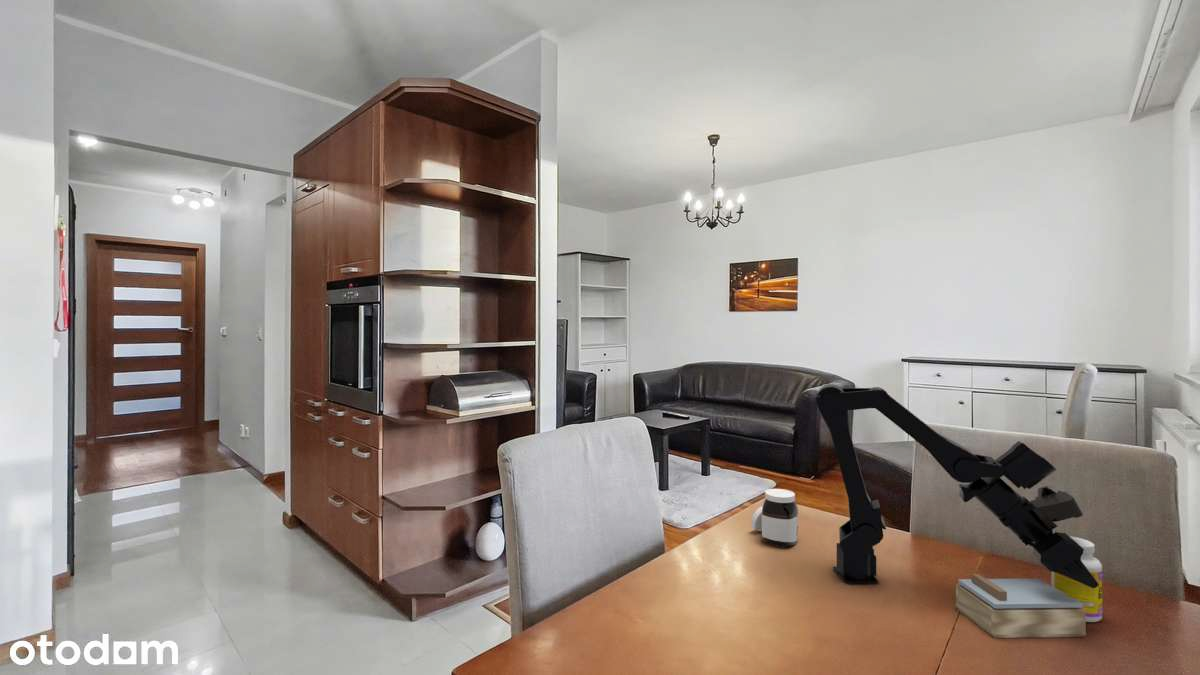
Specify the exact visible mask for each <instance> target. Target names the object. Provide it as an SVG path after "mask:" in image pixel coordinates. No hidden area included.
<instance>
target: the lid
mask: <svg viewBox="0 0 1200 675" xmlns="http://www.w3.org/2000/svg"><path fill="white" fill-rule="evenodd" d="M957 582H958V583H957V584H960V585H962V586H963V587H965V588H966V589H967V590H969V591H970V592H972V593H973V594H975V595H976V596H978V597H979V598H980V599H982V600H983V601H985V602H986V603H988V604H989V605H991V606H992V607H993V608H995V609H1005V608H1083V603H1081V602H1079V601H1077V600H1076V599H1074V598H1072V597H1070V596H1068V595H1067V594H1065V593H1063V592H1061V591H1060V590H1058V589H1056V588H1054V587H1052V584H1051V585H1050V584H1048V583H1046V582H1045V581H1043V580H1042V579H1039V578H986V577H984V576H983V575H982V574H980V573H971V578H963V579H962V578H961V579H960V578H958V580H957Z"/></svg>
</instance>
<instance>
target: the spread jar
mask: <svg viewBox="0 0 1200 675" xmlns="http://www.w3.org/2000/svg"><path fill="white" fill-rule="evenodd" d="M764 498H765V499H764V501H763V503H762V505H761V506H760V507H759V508H757V509H756V510H755V512H754V513H753V515H752V516H751V519H750V527H751V528H752V529H754V531H755V532H758V530H761V529H762V531H761V537H762V539H763V541H765V542H768V543H767V544H769V543H771V544H773V545H772V546H775V545H778V546H777V547H780V546H790V547H792V546H796V544H797V541H798V537H799V509H798V505H797V503H796V493H795V492H793V491H792V490H789V489H784V488H783V489H782V488H769V489H766V490H765V491H764ZM771 544H770V545H771Z"/></svg>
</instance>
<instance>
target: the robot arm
mask: <svg viewBox="0 0 1200 675" xmlns="http://www.w3.org/2000/svg"><path fill="white" fill-rule="evenodd" d="M815 404H816V408H818V411H819V413H820V415H821V417H822V419H823V422H824V424H825V425H826V426H827V429H828V431H829V432H830V435H831V440H832V443H833V447H834V450H835V455H836V459H837V462H838V465H839V469H840V472H841V476H842V480H843V484H844V488H845V491H846V494H847V499H848V501H847V502H848V513H849V520H847V521H846V522H845V523H843V524H842V525H841V526H839V527H838V528H839V529H838V530H839V531H838V532H839V533H838V534H839V542H837V543H836V566H832V570H833V572H835V573H836V574H837V575H838V577H840V578H841V579H842V581H844V582H845V584H848V585H849V584H851V585H852V584H853V585H854V584H879V581H880V580H879V579H878V578H877V556H876V555H875V548H874V547H875V546H877V545H878V544H880V543H881V541H882V540H883V539H884V531H883V530H885V531H886V530H887V527H886V523H885V519H884V516H882V511H881V506H880V503H879V499H874V500H871V498H870V495H869V494H868V492H867V489H866V486H865V482H864V479H863V475H862V471H861V467H860V465H859V464H860V463H859V461H858V457H857V452H856V450H855V447H854V446H855V445H854V441H853V439H852V434H851V432H850V427H849V426H850V425H849V412H848V411H857V410H867V409H875V410H877V411H878V412H880V414H882V415H883V416H884V417H886V418H887V419H889V420H890V421H891V422H892V423H893V424H894V425H896V426H897V427H898V428H900V429H901V431H903V432H905V434H907V435H908V436H909V437H911V438H912V439H914V440H915V441H916V442H917V443H918V444H919V445H921V447H923V448H924V449H926V451H927V452H928V453H929V454H930V455H931V456H932V457H933V458H934V460H936V462H937V463H938V464H939V465H940V466H941V467H942V469H944V471H945V472H946V473H947V474H948V475H949V476H950V477H951V478H952V479H953V480H955V481H956V482H959V484H958V488H959V494H958V495H959V498H960V499H961V500H962V501H963V502H964V503H968V502H970V501H972V499H973V498H974V499H976V500H977V501H978V502H979V503H980V504H981V505H982V506H983V507H984V508H986V510H988V511H989V512H990V513H991V514H992V515H993V516H994V517H996V518H997V519H998V521H1000V523H1001V524H1002V525H1003V526H1004V527H1005V528H1007V529H1009V530H1010V531H1011V532H1012V533H1013V534H1014V535H1015V536H1016V537H1017V538H1018V539H1019V540H1020V541H1021V542H1022V543H1023V545H1025V546H1030V547H1032V548H1033V549H1032V550H1033V556H1034V557H1035V558H1036V559H1037V560H1038V561H1039V563H1040V564H1042V565H1043V566H1044V567H1045V568H1046V569H1047V570H1048V571H1049V572H1051V573H1052V572H1056V573H1059V574H1061V575H1064V576H1066V577H1069V578H1071V579H1073V580H1076V581H1078V582H1080V583H1082V584H1085V585H1087V586H1089V587H1091V588H1096V587H1097V586H1099V584H1098V582H1097V581H1096V580H1095V578H1094V577H1093V576H1092V574H1091V573H1090V572H1089V571H1088V569H1087V568H1086V567H1085V565H1084V564H1083V562H1082V561H1081V556H1082V555H1083V551H1084V549H1083V548H1082V547H1081V546H1080V545H1079V544H1077V543H1076V542H1075V541H1074V540H1073V539H1072V538H1070V537H1071V536H1070V537H1069V535H1068V534H1067V533H1065V532H1058V531H1055V532H1053V530H1054V529H1056V528H1057V527H1058V525H1057V524H1056V523H1057V522H1061V521H1064V520H1069V519H1072V518H1075V519H1077V518H1081V517H1082V516H1083V515H1084V513H1083V511H1082V509H1081V508H1080V506H1079V504H1078V502H1077V501H1076V499H1075V497H1074V496H1073V495H1071V494H1069V493H1068V492H1066V491H1061V490H1057V492H1056V491H1055V490H1053V489H1052V488H1050V487H1049V486H1042V487H1038V488H1037V490H1038V491H1037V496H1036V497H1035V499H1033V500H1029V499H1027V498H1026V496H1021V495H1020V493H1018V492H1017V491H1016V490H1015V489H1014V488H1013V487H1012V486H1010V485H1009V484H1008V483H1007V482H1006V481H1005V480H1003V479H1002V477H1005V478H1006V479H1007V480H1008V481H1009V482H1010V483H1011V484H1012V485H1014V486H1015V487H1016V488H1017V489H1020V488H1021V487H1022V488H1023V490H1026V489H1028V490H1030V489H1032V488H1034V487H1035V486H1036V485H1038V484H1039V483H1041V482H1042V481H1043V480H1045V479H1046V478H1048V477H1049V476H1050V475H1052V474H1053V473H1055V472H1056V471H1057V468H1056V467H1055V466H1053V464H1051V463H1050V462H1049V460H1047V459H1046V458H1045V457H1043V456H1041V455H1040V454H1038V453H1037V452H1035V451H1034V450H1033V449H1031V448H1030V447H1029V446H1028V445H1026V444H1025V443H1024V442H1022V441H1019V440H1018V441H1017V442H1016V443H1014V444H1013V445H1012V446H1011V447H1010V448H1009V449H1008V450H1007V451H1006V452H1004V453H1003V454H1001V455H1000V456H999V457H997V458H996V459H995V458H993V457H992V456H989V455H982V454H977V453H973V452H972V451H971V450H970V449H968V448H966V447H964V446H963V445H961V444H958V443H957V442H955V440H952V439H951V438H949V437H946V436H944V435H943V434H941V433H939V432H937V431H935V430H934V429H933V428H932V427H930V425H928V424H927V423H926V422H924V421H923V420H921V418H919V417H918V416H917V415H916V414H914V413H913V412H911V411H910V410H908V409H907V408H906V407H905V406H904V405H903V404H901V403H900V402H898V401H897V400H896V399H895V398H893V397H892V396H891V395H890V394H888V392H887V390H885V389H884V388H883V387H879V386H874V387H866V388H865V387H846V388H845V387H841V386H839V385H837V384H831V383H830V384H829V383H828V384H825V385H823V386H822V387H820V388H819V390H818V391H817V393H816V397H815ZM962 483H964V484H962ZM966 483H967V484H966ZM1055 522H1056V523H1055Z"/></svg>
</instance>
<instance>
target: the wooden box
mask: <svg viewBox="0 0 1200 675" xmlns="http://www.w3.org/2000/svg"><path fill="white" fill-rule="evenodd" d="M955 609H956V610H958V612H960V613H961V614H962V615H964V616H965V617H967V618H968V619H969V620H970V621H971V622H973V623H974V624H975V625H977V626H978V627H979V628H981V629H982V630H983V631H985V632H986V634H989V635H990V636H991V637H992V638H994V639H1003V638H1004V639H1013V638H1014V639H1015V638H1019V639H1020V638H1022V639H1023V638H1025V639H1026V638H1029V639H1031V638H1085V637H1087V636H1086V635H1087V634H1086V631H1087V630H1086V625H1087V624H1086V623H1087V622H1086V610H1085V609H1083V608H1005V609H995V608H993V607H992V606H991V605H989V604H988V603H986V602H985V601H983V600H982V599H980V598H979V597H978V596H976V595H975V594H973V593H972V592H970V591H969V590H967V589H966V588H965V587H963V586H962V585H960V584H959V583H957V584H955Z"/></svg>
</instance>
